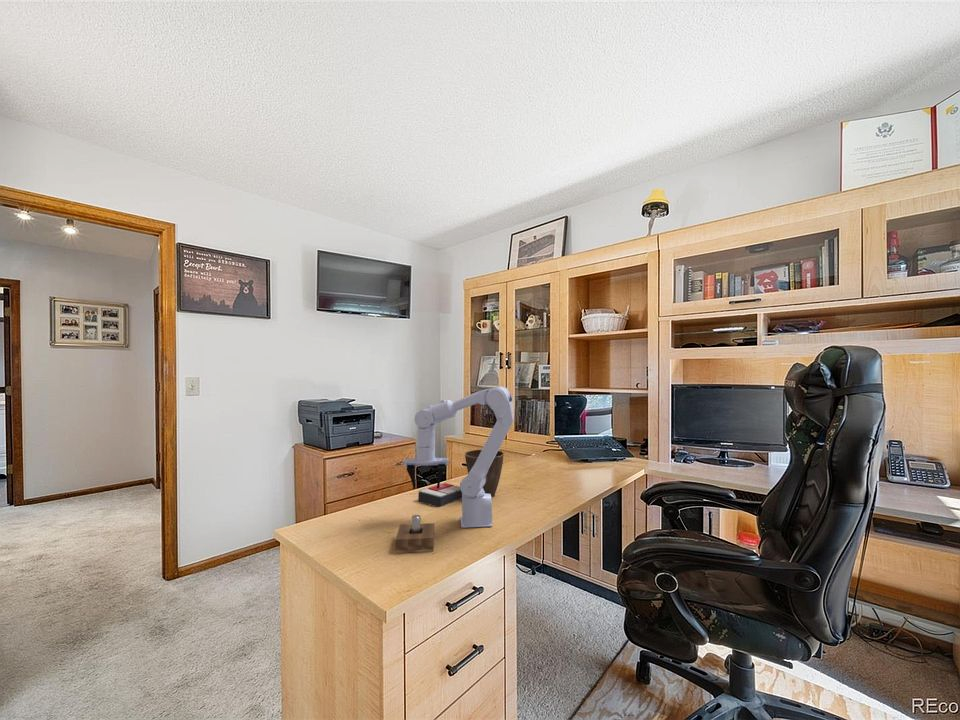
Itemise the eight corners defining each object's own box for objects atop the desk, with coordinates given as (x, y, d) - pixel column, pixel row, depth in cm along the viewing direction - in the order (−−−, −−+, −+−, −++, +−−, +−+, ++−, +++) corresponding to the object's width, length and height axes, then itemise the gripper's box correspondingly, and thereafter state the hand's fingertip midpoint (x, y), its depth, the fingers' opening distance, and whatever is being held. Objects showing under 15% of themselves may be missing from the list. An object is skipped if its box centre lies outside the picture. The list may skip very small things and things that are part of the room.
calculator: (466, 486, 150) (440, 495, 138) (466, 498, 150) (439, 507, 138) (445, 482, 157) (418, 489, 144) (444, 493, 156) (417, 501, 144)
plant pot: (457, 495, 150) (456, 453, 151) (484, 486, 161) (484, 447, 161) (484, 504, 140) (484, 459, 140) (512, 495, 150) (511, 453, 150)
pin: (420, 539, 111) (420, 514, 111) (420, 543, 109) (420, 517, 109) (411, 540, 111) (411, 515, 111) (411, 543, 108) (411, 518, 108)
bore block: (434, 535, 115) (434, 523, 115) (433, 551, 105) (433, 538, 105) (399, 536, 114) (399, 524, 114) (395, 552, 104) (395, 539, 104)
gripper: (448, 443, 133) (448, 483, 132) (405, 444, 131) (405, 484, 131) (448, 447, 126) (448, 490, 125) (402, 448, 124) (402, 491, 124)
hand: (426, 487), depth 128 cm, fingers open, 7 cm apart
